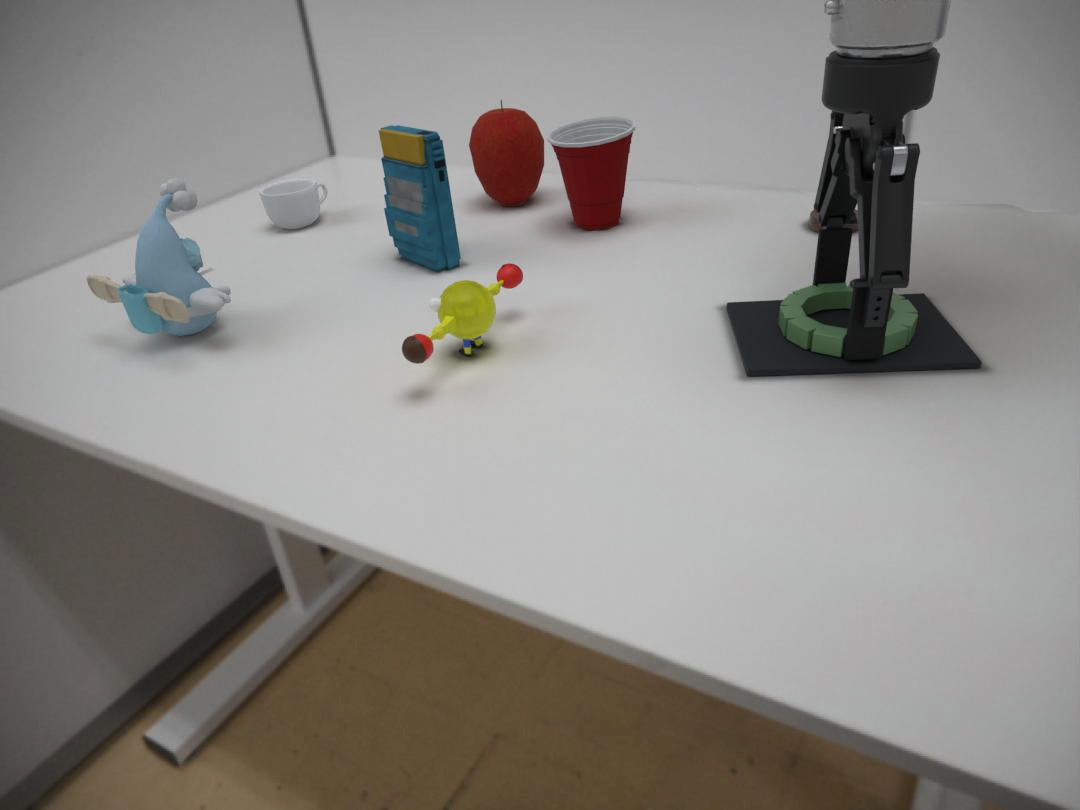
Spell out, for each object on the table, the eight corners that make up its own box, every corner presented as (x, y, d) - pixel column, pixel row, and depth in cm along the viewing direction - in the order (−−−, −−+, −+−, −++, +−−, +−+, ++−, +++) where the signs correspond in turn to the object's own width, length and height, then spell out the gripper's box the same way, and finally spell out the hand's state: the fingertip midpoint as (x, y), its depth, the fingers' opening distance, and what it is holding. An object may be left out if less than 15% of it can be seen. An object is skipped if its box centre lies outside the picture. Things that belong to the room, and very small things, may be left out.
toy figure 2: (495, 306, 77) (486, 243, 73) (542, 313, 74) (536, 248, 71) (389, 393, 64) (372, 322, 60) (442, 405, 61) (428, 332, 58)
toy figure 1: (284, 323, 78) (240, 180, 70) (198, 369, 71) (138, 216, 63) (189, 298, 86) (140, 167, 78) (103, 337, 79) (40, 197, 71)
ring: (889, 297, 69) (892, 279, 68) (932, 354, 60) (936, 334, 59) (769, 304, 70) (771, 286, 69) (793, 360, 61) (795, 341, 60)
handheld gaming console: (466, 264, 87) (446, 132, 79) (438, 276, 85) (414, 141, 77) (418, 247, 93) (395, 123, 85) (390, 258, 91) (364, 131, 83)
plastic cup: (539, 222, 98) (530, 127, 91) (609, 203, 101) (605, 111, 95) (580, 245, 89) (573, 142, 83) (655, 224, 93) (654, 124, 87)
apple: (562, 196, 106) (555, 92, 99) (517, 218, 100) (505, 109, 92) (508, 188, 112) (497, 89, 105) (462, 208, 106) (447, 104, 98)
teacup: (291, 237, 101) (280, 198, 99) (259, 229, 106) (247, 191, 103) (348, 214, 108) (339, 177, 105) (315, 208, 112) (306, 172, 109)
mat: (922, 298, 70) (923, 292, 69) (980, 368, 59) (982, 361, 58) (726, 307, 72) (726, 302, 71) (747, 376, 61) (748, 370, 60)
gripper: (794, 32, 63) (774, 274, 75) (876, 80, 44) (832, 397, 55) (886, 23, 62) (851, 270, 74) (1013, 69, 43) (938, 394, 55)
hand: (843, 325), depth 65 cm, fingers closed on ring, 11 cm apart
